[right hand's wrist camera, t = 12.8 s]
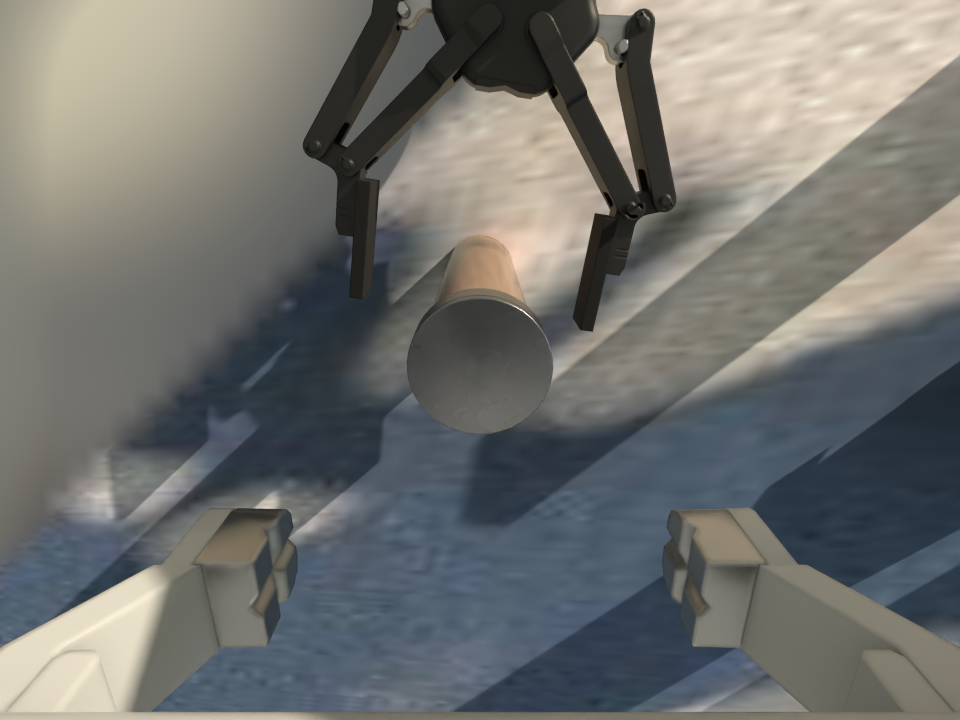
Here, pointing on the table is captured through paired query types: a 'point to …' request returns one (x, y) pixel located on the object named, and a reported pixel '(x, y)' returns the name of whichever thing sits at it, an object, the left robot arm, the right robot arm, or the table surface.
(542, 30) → the left robot arm
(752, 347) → the table surface
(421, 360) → the lid
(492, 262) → the copper grooved cylinder
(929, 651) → the right robot arm
